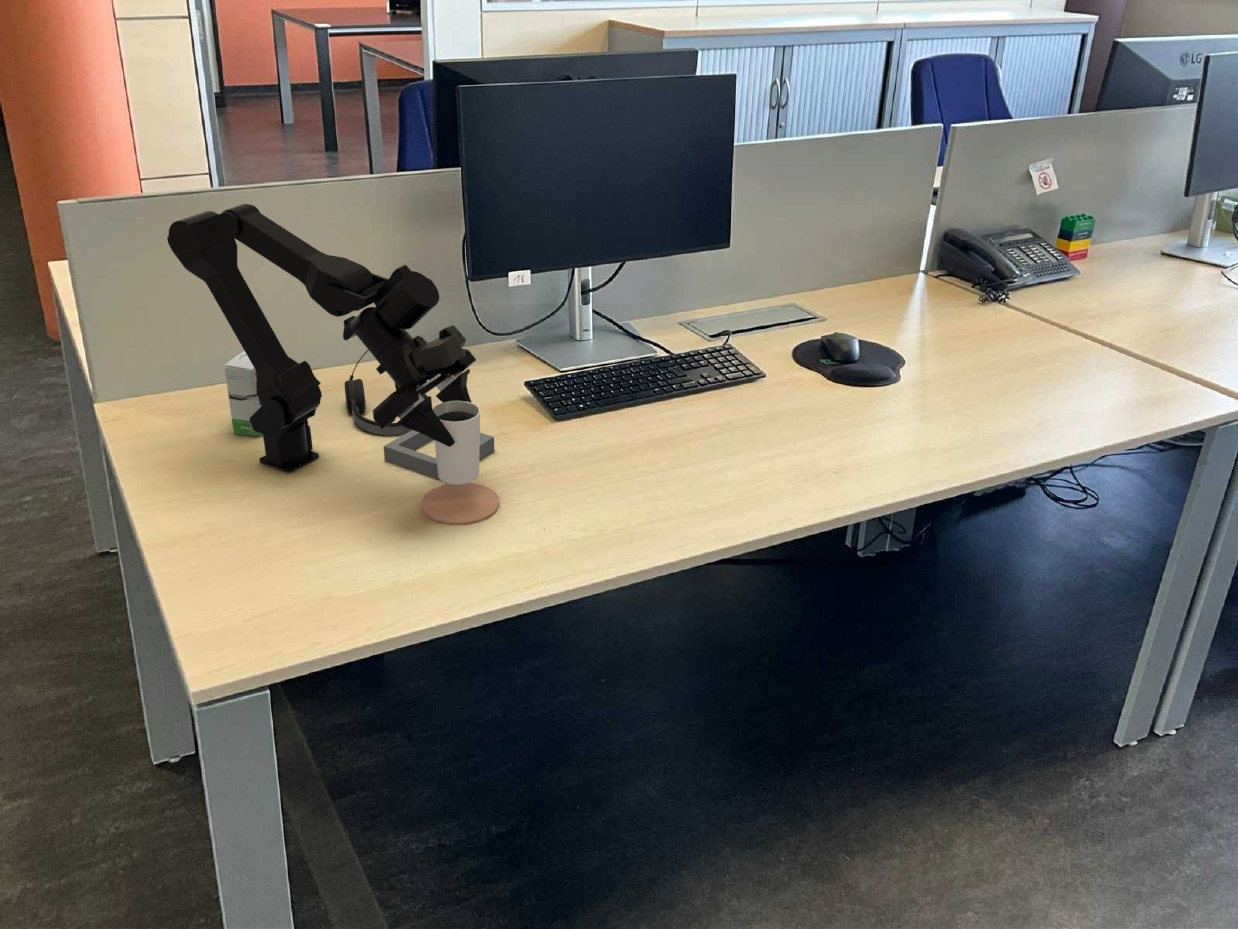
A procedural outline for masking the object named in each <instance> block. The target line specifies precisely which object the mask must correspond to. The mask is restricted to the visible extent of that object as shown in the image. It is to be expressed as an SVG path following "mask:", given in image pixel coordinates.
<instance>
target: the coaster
mask: <svg viewBox="0 0 1238 929" xmlns="http://www.w3.org/2000/svg"><path fill="white" fill-rule="evenodd" d="M499 508H500V498H499V496H498V494H497V492H496V491H495V490H494V489H492V488H490V487H488V486H486V485H483V484H481V483H476V482H470V483H466V484H459V485H454V484H448V483H445V484H442V485H439V486H436V487H434V488H432V489H430V490H429V491H428V492H427V493H426V494H424V496H422V499H421V509H422V513H423V514H424V515H425V517H428V518H429V519H431V520H432V521H435V522H437V523H441V524H446V525H452V526H453V525H454V526H455V525H457V526H458V525H468V524H469V525H470V524H471V525H472V524H475V523H479V522H481V521H484V520H487V519H488V518H490V517H491V516H493V515H494V514H495V513H496V512H497V511H498V509H499Z"/></svg>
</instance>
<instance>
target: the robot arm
mask: <svg viewBox="0 0 1238 929" xmlns="http://www.w3.org/2000/svg"><path fill="white" fill-rule="evenodd" d="M166 239H167V243H168V246H169V248H170V250H171V251H172V253H173V254H174V255H175V256H176V258H177V259H178V261H179V263H180V264H181V265H182V266H183V268H184V269H185V270H186V271H188V272H189V273H191V274H192V275H194V276H195V277H197V278H198V279H200V280H202V281H203V282H205V284H206V286H207V288H208V289H209V291H210V293H211V295H212V296H213V298H214V300H215V302H216V303H217V305H218V306H219V308H220V311H221V312H222V314H223V315H224V317H225V319H226V321H227V322H228V325H229V326H230V328H231V329H232V331H233V333H234V335H235V337H236V338H237V340H238V342H239V343H240V345H241V347H242V349H243V351H245V352H246V354H247V356H248V358H249V359H250V361H251V363H252V365H253V366H254V368H255V370H256V392H257V395H258V398H259V400H260V402H261V405H262V406H261V407H260V408H259V409H258V410H257V411H256V412H255V413H254V414H253V415H252V416H251V417H250V418H249V420H250V422H251V425H252V427H253V429H254V431H255V432H259V433H263V435H262V438H263V446H264V452H265V453H264V455H263V456H261V457H259V459H258V460H259V463H262V464H264V465H266V466H269V467H272V468H275V469H278V470H280V471H282V472H285V473H292V472H293V471H296V470H298V469H299V468H301V467H303V466H305V465H306V464H309V463H311V462H313V461H315V460H316V459H318V458H319V457H320V453H318V452H316V451H313V441H312V439H313V438H312V432H311V431H312V430H311V426H310V425H309V421H308V419H310V418H312V417H315V416H316V411H317V409H318V407H319V406H320V405H321V401H322V400H321V399H322V397H323V395H322V390H321V388H320V385H321V381H320V380H319V379H318V378H317V377H316V376H315V374H314V372H313V369H312V368H311V365H310V363H308V362H307V361H306V360H304V361H301V362H298V361H296V360H295V359H293V358H292V357H290V356H288V354H287V353H286V351H285V349H284V347H283V346H282V344H281V342H280V340H279V339H278V337H277V335H276V333H275V331H274V329H273V328H272V326H271V324H270V323H269V321H268V318H267V317H266V316H265V314H264V312H263V310H262V308H261V307H260V305H259V303H258V301H257V300H256V298H255V296H254V294H253V292H252V290H251V288H250V287H249V285H248V284H247V281H246V280H245V278H244V276H243V274H242V272H241V270H240V268H239V266H238V244H237V241H238V242H240V243H241V244H242V245H244V246H246V247H247V248H249V249H251V250H252V251H253V252H255V253H256V254H258V255H260V256H261V257H263V258H264V259H265V260H267V261H269V262H270V263H271V264H274V265H275V266H277V268H279V269H281V270H283V271H284V272H286V273H287V274H289V275H290V276H292V277H294V278H295V279H297V280H298V281H299V282H300V283H301V284H303V285H304V287H305V289H306V290H307V293H308V296H309V297H310V299H311V300H313V301H314V302H315V303H316V304H317V305H318V306H320V307H321V308H322V309H323V310H324V311H326V313H328V314H330V316H333V317H338V318H339V317H343V316H346V315H348V314H350V313H352V312H357V311H358V312H359V311H360V310H362V309H363V310H362V311H360V313H359V314H358V315H357V316H354V315H351V316H350V317H347V318H346V319H344V320H343V332H342V339H343V340H344V341H349V340H350V339H352V338H354V337H357V338H358V339H359V340H360V341H361V343H362V344H363V345H364V346H365V347H366V349H367V350H369V351H368V352H370V354H372V356H373V357H374V358H375V360H376V361H377V362H378V363H379V365H378V366H377V367H376V368H375V370H376V372H378V374H379V375H382V374H384V373H386V374H388V376H389V377H390V378H391V380H392V381H393V382H394V384H395V383H396V384H397V385H398V387H399V389H398V390H396V389H395V391H393V392H392V393H390V394H389V395H388V396H387V397H386V398H385V399H384V400H382V401H381V402H380V403H379V404H378V405H377V406H376V407H375V408H374V409H372V416H373V419H372V420H373V421H375V422H376V423H377V424H378V425H379V426H380V428H381V429H382V430H383V429H384V428H385V427H387V426H388V425H390V424H391V423H396V424H395V425H396V426H397V427H398V426H404V427H406V428H409V429H411V430H414V431H416V432H419V433H421V434H423V435H426V436H428V437H430V438H432V439H433V440H434V441H435V440H436V441H438V442H440V443H442V444H444V445H446V446H448V447H451V446H452V445H453V444H454V443H455V441H454V439H453V438H452V436H451V435H450V433H449V432H448V430H447V429H446V428H445V426H444V425H443V423H442V422H441V421H440V419H439V418H438V417H437V415H436V414H435V413H434V411H433V403H432V396H431V395H429V396H428V398H426V399H425V400H424V399H423V397H422V396H423V395H424V394H426V395H427V393H429V392H430V391H432V390H433V389H435V388H437V389H438V391H439V392H438V393H437V394H435V398H437V399H438V400H439V401H440V403H444V402H449V401H465V402H470V403H473V402H472V399H471V397H470V393H469V391H468V390H469V389H468V387H467V384H468V376H469V374H470V373H471V370H470V368H469V367H470V366H472V365H473V364H474V363H475V362H476V361H477V358H476V356H474V355H473V354H472V352H471V351H470V350H469V349H467V348H463V347H464V346H465V344H466V341H467V340H466V338H465V337H464V336H463V334H462V332H461V331H460V330H459V329H458V328H457V327H456V326H455V325H449V326H446V327H444V328H443V329H441V330H440V331H439V332H438V337H437V338H435V339H434V340H432V341H429V342H428V341H426V340H425V339H424V337H423V336H420V335H419V334H418V335H417V336H415V337H414V338H413V336H412V335H411V334H410V332H408V331H407V330H410V329H412V328H414V326H416V325H417V323H419V321H421V320H422V319H423V318H424V317H425V316H426V315H428V313H430V312H431V310H433V309H434V308H435V307H436V306H437V305H438V303H439V301H440V293H439V290H438V287H437V286H436V284H435V282H433V280H432V279H431V278H428V277H427V276H425V275H424V274H422V273H420V272H418V271H414V270H411V268H410V267H409V266H408V265H407V264H403V265H401V266H399V267H397V268H395V270H394V271H392V273H391V275H390V277H389V278H387V277H383V276H381V275H378V274H375V273H373V272H371V270H369V268H367V267H366V266H364V265H362V264H360V263H358V262H355V261H353V260H351V259H348V258H346V257H344V256H343V257H342V256H336V255H331V254H330V255H329V254H327V253H324V252H322V251H320V250H318V249H317V248H315V247H314V246H312V245H311V244H309V243H308V242H306V241H304V240H303V239H301V238H299V237H298V236H297V235H295V234H293V233H292V232H290V231H289V230H288V229H286V228H284V227H283V226H281V225H280V224H278V223H277V222H275V221H273V220H272V219H270V218H269V217H267V216H265V215H264V214H263V213H261V212H260V209H258V208H257V207H256V206H255V205H253V204H249V203H243V204H240V205H236V206H233V207H230V208H227V209H225V210H223V211H222V212H221V213H218V212H215V211H212V210H207V211H204V212H200V213H197V214H195V215H194V214H193V215H191V216H189V217H185V218H183V219H179V220H176V221H173V222H172V223H171V225H170V226H169V229H168V236H167V237H166ZM236 240H237V241H236ZM372 304H374V305H375V306H370V305H372ZM368 306H369V307H368ZM418 385H419V386H420V387H419V388H417V386H418ZM396 418H398V419H399V420H398V421H397V422H396Z"/></svg>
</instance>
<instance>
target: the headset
mask: <svg viewBox="0 0 1238 929" xmlns="http://www.w3.org/2000/svg"><path fill="white" fill-rule="evenodd" d="M368 352H370V351H369V350H368V349H367V350H366V351H365V352H364V353H363V354H362V356H361V357H360V358H359V359H358V361H357V362H356V365H355V366H354V367H353V370H352V373H351V375H350V376H349V380H345V381H344V394H345V397H344V398H345V403H346V410H347V412H350V413H351V414H352V418H353V421H354V423H355V425H356V426H357V427H358V428H359V429H360V430H362V431H363V432H365V433H368V434H370V435H374V436H379V437H396V436H398V437H400V436H403V435H404V434H406V433H408V432H410V431H412V430H411V429H409V428H406V427H404V426H398V427H397V426H396V425H395V424H396V423H397V422H393V423H391V424H390V425H388V426H387V427H385V428H384V429H383V430H382V429H381V428H380V426H379V425H378V424H377V423H376V422H375V420H373V419H369V418H367V417H365V416H363V415H362V414H360V413H362V412H365V410H366V397H365V389H364V388H365V386H364V383H363V379H361V378H357V379H354V373H355V371H356V368H357V367H358V365H359V363H360V361H361V360H362V359H363V357H364V356H365V355H366V354H367V353H368ZM419 387H420V386H419V385H418V386H417V388H419ZM394 388H395V391H396V390H398V389H399V387H398V385H397V384H396V383H395V382H394ZM422 397H423V399H424V400H425V399H426V398H428V397H429V396H428V395H427V393H426V394H424V395H423V396H422Z"/></svg>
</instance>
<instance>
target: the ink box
mask: <svg viewBox="0 0 1238 929" xmlns="http://www.w3.org/2000/svg"><path fill="white" fill-rule="evenodd" d="M224 374H225V380H226V387H227V395H228V400H229V409H230V417H231V423H232V429H233V430H232V431H233V434H234V435H243V436H251V437H263V433H259V432H255V431H254V429H253V427H252V425H251V422H250V420H249V418H250V417H251V416H252V415H253V414H254V413H255V412H256V411H257V410H258V409H259V408H260V407H261V406H262V405H261V402H260V400H259V398H258V395H257V392H256V370H255V368H254V366H253V365H252V363H251V361H250V359H249V358H248V356H247V354H246V352H245V351H244V350H243V351H241V353H239V354H237V355H235V357H233V358H232V359H230V360H229V361H227V362H226V363H225V365H224Z"/></svg>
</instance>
